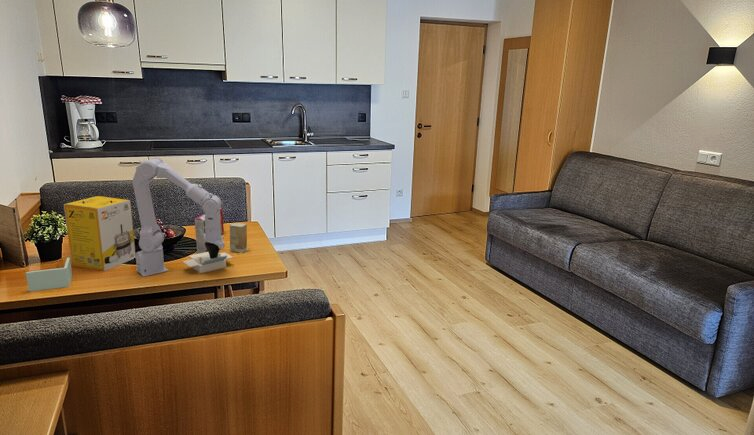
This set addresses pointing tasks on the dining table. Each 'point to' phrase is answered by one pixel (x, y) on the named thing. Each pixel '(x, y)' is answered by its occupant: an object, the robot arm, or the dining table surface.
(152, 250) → the robot arm
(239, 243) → the skincare box
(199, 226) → the candy bar box
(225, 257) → the flap
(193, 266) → the carton
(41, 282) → the l-shaped corner panel
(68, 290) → the dining table surface
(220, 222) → the soda can
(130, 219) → the packaging box
